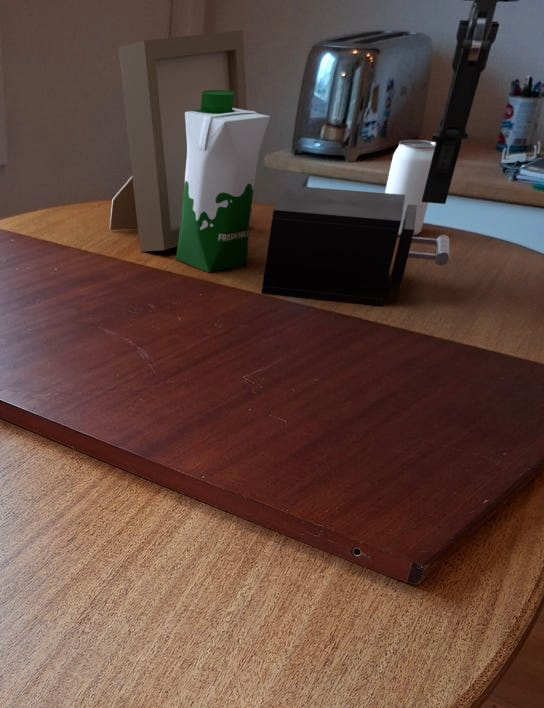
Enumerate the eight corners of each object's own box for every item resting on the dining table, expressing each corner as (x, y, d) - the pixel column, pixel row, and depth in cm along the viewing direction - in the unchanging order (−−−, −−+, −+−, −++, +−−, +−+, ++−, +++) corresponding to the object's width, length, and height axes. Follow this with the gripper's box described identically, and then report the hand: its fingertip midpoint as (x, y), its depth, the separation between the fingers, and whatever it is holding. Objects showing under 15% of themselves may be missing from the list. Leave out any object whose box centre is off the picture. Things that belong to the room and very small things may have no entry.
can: (414, 239, 131) (436, 149, 124) (371, 233, 134) (390, 144, 126) (425, 229, 136) (447, 142, 128) (383, 224, 138) (402, 137, 131)
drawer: (439, 273, 115) (457, 208, 110) (438, 303, 106) (457, 233, 101) (298, 259, 120) (309, 196, 115) (285, 286, 111) (296, 219, 106)
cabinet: (387, 274, 118) (405, 194, 112) (381, 306, 108) (401, 220, 102) (276, 263, 122) (288, 185, 115) (261, 293, 112) (273, 209, 105)
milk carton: (213, 249, 126) (231, 87, 114) (257, 265, 121) (281, 96, 108) (166, 259, 123) (179, 92, 110) (208, 276, 117) (227, 102, 104)
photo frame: (251, 228, 136) (277, 32, 120) (163, 257, 123) (179, 44, 108) (175, 211, 144) (190, 25, 128) (86, 237, 131) (90, 35, 115)
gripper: (458, -49, 96) (403, 187, 111) (459, -47, 87) (398, 211, 102) (531, -48, 94) (465, 192, 109) (540, -45, 85) (467, 217, 100)
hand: (433, 201), depth 105 cm, fingers closed
